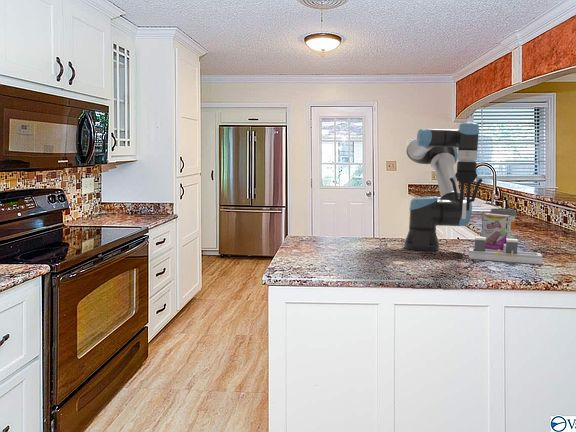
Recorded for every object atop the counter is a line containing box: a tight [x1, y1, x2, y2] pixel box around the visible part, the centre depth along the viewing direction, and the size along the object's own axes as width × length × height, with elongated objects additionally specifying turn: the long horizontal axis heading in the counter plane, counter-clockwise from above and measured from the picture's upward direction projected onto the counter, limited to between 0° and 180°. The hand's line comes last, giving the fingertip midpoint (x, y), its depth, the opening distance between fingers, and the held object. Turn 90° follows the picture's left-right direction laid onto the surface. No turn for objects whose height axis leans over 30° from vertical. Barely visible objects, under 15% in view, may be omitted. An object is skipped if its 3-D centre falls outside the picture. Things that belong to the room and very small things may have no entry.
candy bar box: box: [480, 212, 512, 250], centre depth 223 cm, size 11×5×16 cm, turn 47°
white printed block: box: [490, 208, 517, 239], centre depth 263 cm, size 13×13×15 cm
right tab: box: [506, 238, 519, 254], centre depth 204 cm, size 4×4×6 cm
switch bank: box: [468, 244, 544, 265], centre depth 205 cm, size 27×10×6 cm, turn 71°
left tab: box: [473, 235, 486, 251], centre depth 207 cm, size 4×4×6 cm
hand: (463, 218), depth 208 cm, fingers closed
